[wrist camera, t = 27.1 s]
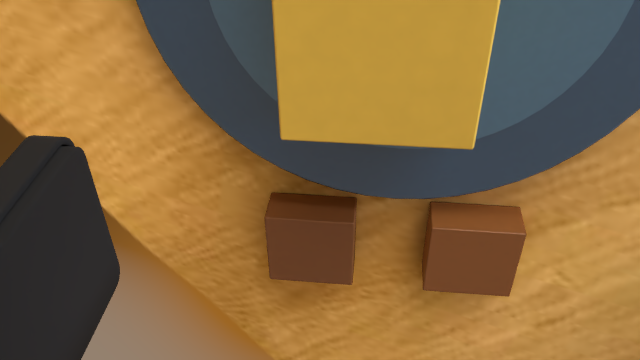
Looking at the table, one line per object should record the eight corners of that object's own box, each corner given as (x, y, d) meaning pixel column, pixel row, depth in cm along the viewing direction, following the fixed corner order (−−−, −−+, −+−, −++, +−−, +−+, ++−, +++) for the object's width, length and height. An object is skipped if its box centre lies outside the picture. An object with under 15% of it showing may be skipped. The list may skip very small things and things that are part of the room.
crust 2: (430, 201, 30) (431, 228, 28) (520, 206, 30) (526, 234, 28) (421, 262, 33) (422, 290, 31) (504, 268, 32) (509, 297, 31)
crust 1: (271, 191, 31) (264, 217, 29) (356, 196, 30) (354, 223, 29) (275, 252, 34) (269, 279, 32) (354, 258, 33) (352, 285, 32)
